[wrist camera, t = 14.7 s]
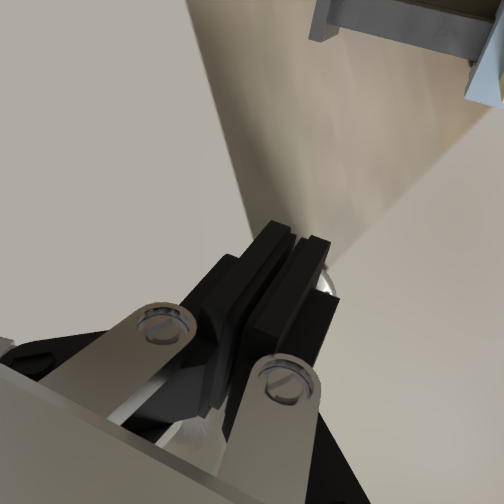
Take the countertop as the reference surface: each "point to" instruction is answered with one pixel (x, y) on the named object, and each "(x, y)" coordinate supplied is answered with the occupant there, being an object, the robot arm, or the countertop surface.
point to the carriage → (489, 68)
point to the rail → (404, 24)
